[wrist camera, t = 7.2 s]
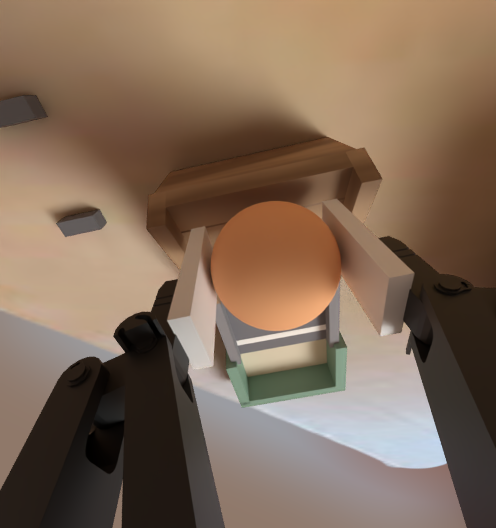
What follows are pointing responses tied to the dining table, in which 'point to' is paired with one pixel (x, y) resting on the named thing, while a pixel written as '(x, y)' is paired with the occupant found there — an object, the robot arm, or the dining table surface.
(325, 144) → the ramp
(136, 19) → the dining table surface
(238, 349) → the runway
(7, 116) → the grey flat pieces
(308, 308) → the ball
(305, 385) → the green open tray
